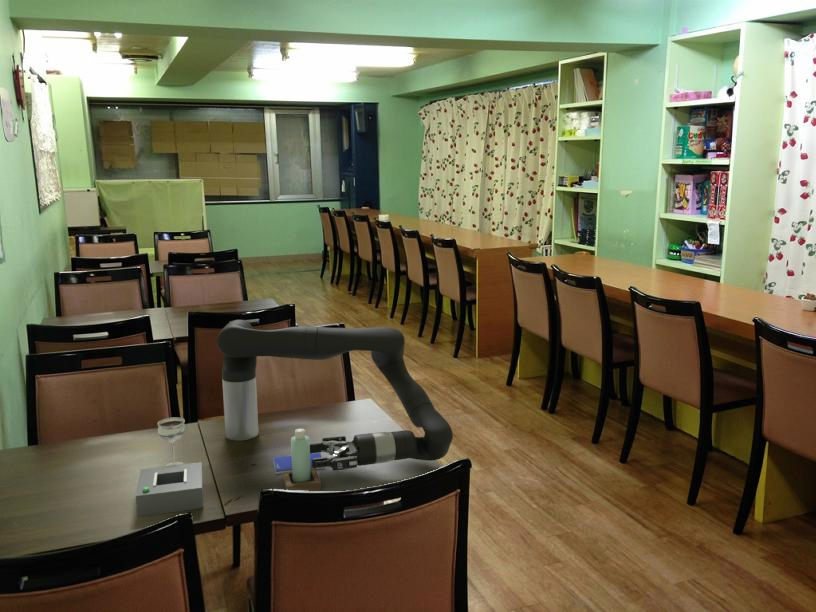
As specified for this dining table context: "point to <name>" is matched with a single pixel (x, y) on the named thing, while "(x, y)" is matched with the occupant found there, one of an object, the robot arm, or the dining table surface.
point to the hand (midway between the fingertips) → (308, 456)
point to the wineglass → (171, 433)
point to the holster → (309, 485)
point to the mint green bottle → (300, 457)
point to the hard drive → (290, 463)
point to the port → (170, 489)
